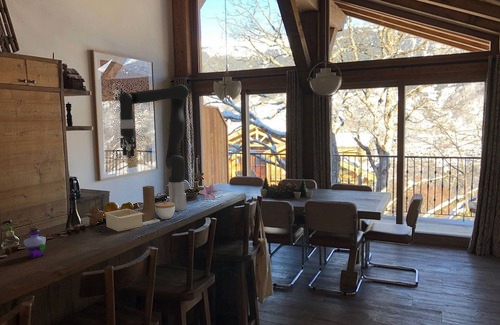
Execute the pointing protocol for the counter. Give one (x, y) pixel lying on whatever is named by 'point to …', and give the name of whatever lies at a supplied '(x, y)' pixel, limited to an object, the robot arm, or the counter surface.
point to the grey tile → (151, 221)
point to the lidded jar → (165, 209)
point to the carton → (123, 219)
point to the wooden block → (148, 203)
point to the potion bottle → (35, 243)
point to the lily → (208, 191)
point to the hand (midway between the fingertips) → (128, 155)
